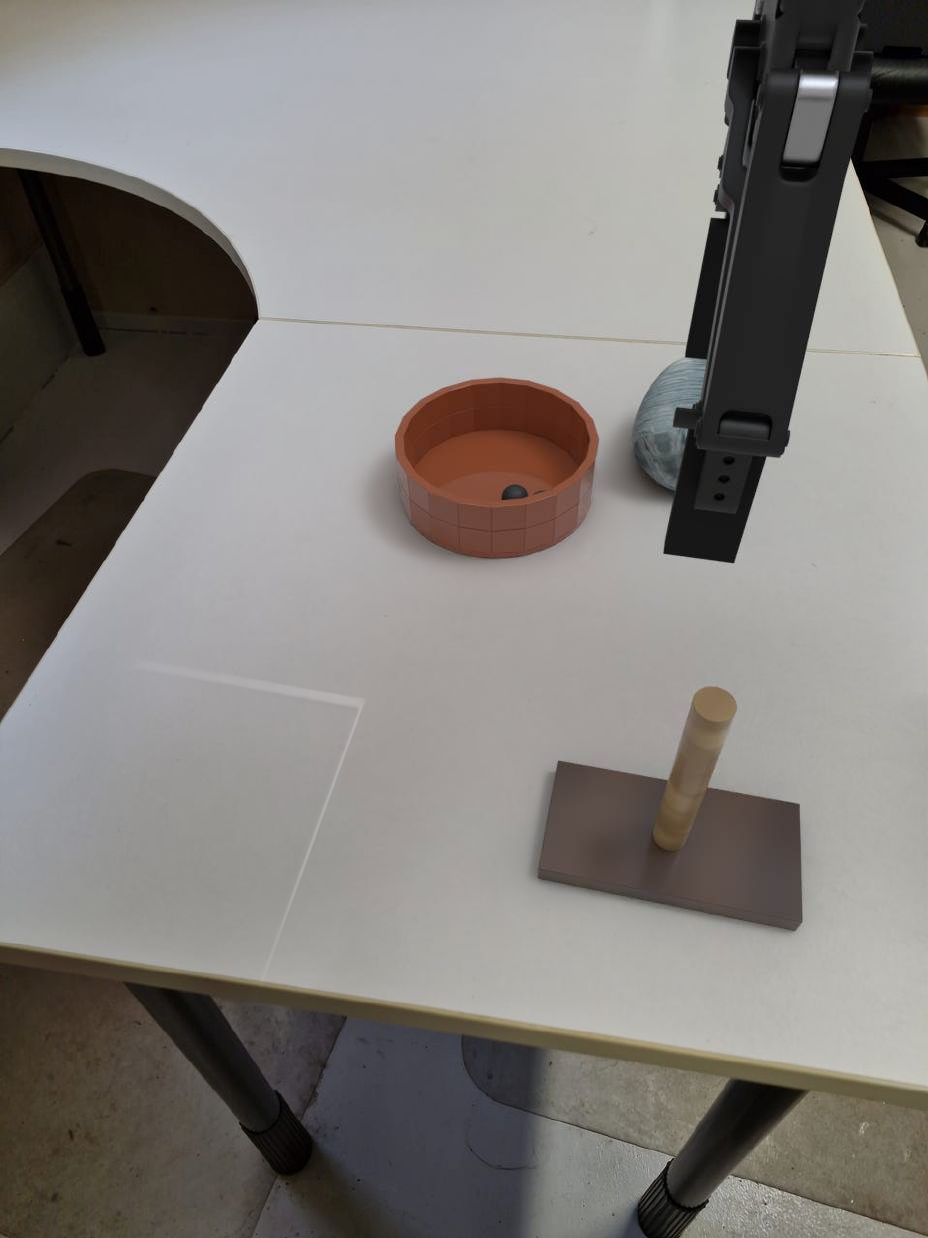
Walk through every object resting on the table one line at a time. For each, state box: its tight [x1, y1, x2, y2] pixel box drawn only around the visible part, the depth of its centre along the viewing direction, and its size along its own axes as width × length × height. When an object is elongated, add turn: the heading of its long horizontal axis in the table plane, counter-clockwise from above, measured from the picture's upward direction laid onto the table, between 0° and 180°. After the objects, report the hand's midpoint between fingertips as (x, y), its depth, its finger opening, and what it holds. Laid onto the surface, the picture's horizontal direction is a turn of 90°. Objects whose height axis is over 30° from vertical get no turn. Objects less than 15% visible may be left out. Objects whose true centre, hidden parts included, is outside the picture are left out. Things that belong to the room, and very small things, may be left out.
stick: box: [653, 685, 738, 851], centre depth 49 cm, size 2×2×15 cm
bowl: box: [394, 376, 600, 559], centre depth 77 cm, size 18×18×6 cm
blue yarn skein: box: [631, 356, 707, 492], centre depth 78 cm, size 14×10×10 cm
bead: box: [501, 484, 528, 500], centre depth 75 cm, size 2×2×2 cm
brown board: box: [537, 760, 804, 931], centre depth 56 cm, size 16×8×2 cm, turn 77°
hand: (706, 443), depth 38 cm, fingers open, 13 cm apart
